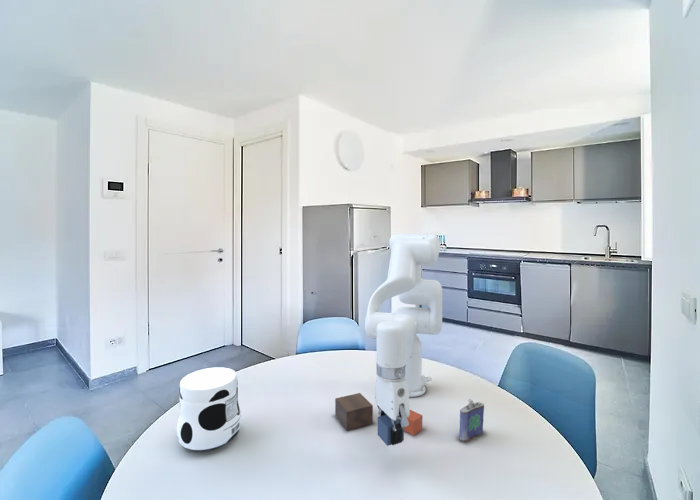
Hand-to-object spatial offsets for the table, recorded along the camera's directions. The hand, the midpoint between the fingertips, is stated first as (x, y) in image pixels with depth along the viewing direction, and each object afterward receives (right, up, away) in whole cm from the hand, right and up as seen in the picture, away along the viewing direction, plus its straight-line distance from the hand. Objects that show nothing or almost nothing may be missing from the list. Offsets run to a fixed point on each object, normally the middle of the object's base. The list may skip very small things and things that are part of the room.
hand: (390, 436), depth 89 cm
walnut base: (-9, -6, +20) cm, 23 cm away
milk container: (-51, -6, +10) cm, 53 cm away
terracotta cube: (+8, -6, +15) cm, 18 cm away
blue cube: (0, 0, 0) cm, 0 cm away
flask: (+25, -7, +12) cm, 29 cm away
